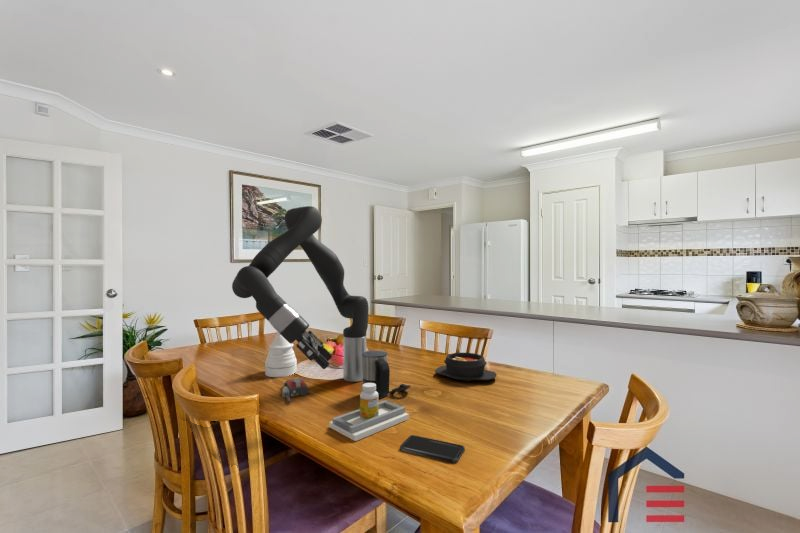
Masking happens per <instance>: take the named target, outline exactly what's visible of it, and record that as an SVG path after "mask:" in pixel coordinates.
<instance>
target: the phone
mask: <svg viewBox="0 0 800 533" xmlns="http://www.w3.org/2000/svg"><path fill="white" fill-rule="evenodd" d="M465 449H466V447H465V446H464V445H461V444H457V443H454V442H453V443H452V442H448V441H443V440H438V439H433V438H430V437H426V436H420V435H415V434H412V435H409V436H408V437H407V438H406V439H405V440H404V441H403V442H402V443H401V444H400V445H399V451H401V452H404V453H408V454H412V453H413V454H414V455H416V454H417V456H421V457H424V458H429V457H430V458H429V459H433V458H434V459H433V460H437V459H438V461H441V460H442V462H445V463H452V464H456V463H458V462H459V461H460V459H461V458H462V456H463V455H464V453H465V451H466V450H465ZM413 454H412V455H413ZM462 454H463V455H462ZM460 457H461V458H460Z"/></svg>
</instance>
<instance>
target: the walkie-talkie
mask: <svg viewBox="0 0 800 533" xmlns="http://www.w3.org/2000/svg"><path fill="white" fill-rule="evenodd" d="M283 385H284V386H283V388H281V395H282V397H283V398H285V399H286V401H287V403H292V400H291V397H290V396H293V397H296V396H295V395H299V396H304V395H308V394H309V387H308V386H307V384H306V382H305V380H304V379H303V378H289V379H287V380H286V381H285V383H283Z"/></svg>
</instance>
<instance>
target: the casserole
mask: <svg viewBox="0 0 800 533" xmlns="http://www.w3.org/2000/svg"><path fill="white" fill-rule="evenodd" d="M443 362H444V363H445V365H442V366H439V367H437V368H436V369H434V372H435V373H436V374H438V375H442V376H445V377H448V378H451V379H453V380H457V381H463V382H472V381H489V380H492V379H496V377H497V375H498V374H497V373H496V372H495V371H491V370H487V369H485V367H486V365H487V361H486V359H485V357H484V356H483V355H481V354H478V353H475V352H474V353H473V352H453V353H449V354H447V355H446V356H445V360H444V361H443Z"/></svg>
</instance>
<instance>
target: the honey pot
mask: <svg viewBox="0 0 800 533" xmlns="http://www.w3.org/2000/svg"><path fill="white" fill-rule="evenodd" d="M275 334H276V336H275V337H274V339H273V341H272V343H271V344H269V346H268V348H269V351H268V353H267V356H266V359H265V361H264V362H265V363H264V365H265V366H264V368H265V369H264V372H265V373H264V374H265V376H267V377H270V378H281V377H283V378H285V377H288V376H289V375H290V376H292V374H293V375H295V374H296V373H297V372H298V362H297V360H298V359H297V357H296V354H295V351H294V349H293V347H294V343H289V342H288V341H287V340H286V339H285V338H284V337H283V336H282V335H281V334H280V333H279V332H278V331H277V330H276V333H275ZM296 371H297V372H296ZM295 372H296V373H295ZM294 373H295V374H294Z"/></svg>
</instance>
